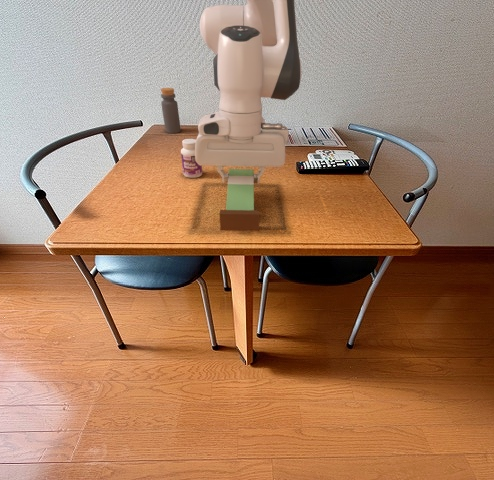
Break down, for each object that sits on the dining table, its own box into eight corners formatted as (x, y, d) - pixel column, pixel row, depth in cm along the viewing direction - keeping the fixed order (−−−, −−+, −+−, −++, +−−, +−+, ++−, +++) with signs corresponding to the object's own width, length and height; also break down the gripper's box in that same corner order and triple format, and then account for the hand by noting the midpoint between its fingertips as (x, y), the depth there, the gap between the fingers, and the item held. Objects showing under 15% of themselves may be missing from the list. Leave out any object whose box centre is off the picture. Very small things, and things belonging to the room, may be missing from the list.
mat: (204, 184, 78) (203, 168, 75) (278, 185, 78) (279, 169, 75) (191, 232, 60) (189, 213, 57) (286, 233, 61) (289, 214, 58)
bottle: (181, 132, 112) (175, 90, 103) (165, 133, 111) (159, 90, 101) (180, 128, 116) (175, 87, 107) (165, 129, 115) (158, 87, 106)
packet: (226, 219, 63) (229, 176, 71) (253, 219, 63) (253, 177, 72) (225, 211, 61) (228, 168, 69) (254, 211, 61) (253, 169, 70)
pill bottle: (184, 179, 79) (179, 144, 74) (182, 171, 84) (178, 138, 78) (203, 177, 81) (200, 143, 75) (201, 170, 85) (198, 137, 79)
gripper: (288, 119, 63) (282, 177, 72) (194, 116, 62) (200, 175, 71) (291, 128, 58) (285, 189, 67) (190, 125, 57) (196, 187, 66)
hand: (240, 182), depth 69 cm, fingers closed on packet, 6 cm apart
